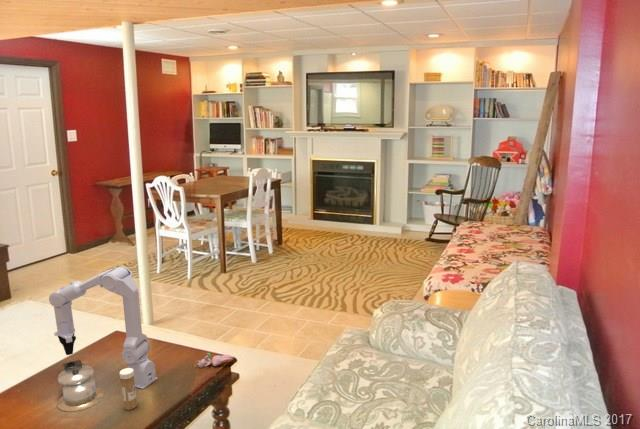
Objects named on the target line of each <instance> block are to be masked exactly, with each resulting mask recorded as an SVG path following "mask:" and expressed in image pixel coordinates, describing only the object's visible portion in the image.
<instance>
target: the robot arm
mask: <svg viewBox="0 0 640 429" xmlns="http://www.w3.org/2000/svg"><path fill="white" fill-rule="evenodd" d="M133 276H134V275H133V271H131V270H130V269H129V268H127V267H126V266H123V265H120V266H117V267H114V268H111V269H107V270H105V271H102V272H100V273H98V274H97V275H95V276H93V277H91V278H89V279H87V280H85V281H79V280H77V281H75V280H73V281H71V282H69V284H68V285H66V286H65V285H63V286H61V287H60V288H59V289H58V290H56V291H54V292H52V293H50V295H49V297H48V301H49V303H50V305H51V307H52V306H53V310H54V317H55V324H56V329H57V330H56V332H54V333H53V335H54V336H55V337H57V338H58V341H59V343H60V344H61V345H62V347H63V350H64V352H65V355H66V356H70V355H73V354H74V345H75V342H76V339H77V337H76V336H77V335H75V332H76V329H75V325H74V318H73V312H72V311H73V310H72V304H73V301H74V300H76V299H79V298H81V297H83V296H84V295H86V293H87V290H90V289H92V288H94V287H97V286H99V288H104V290H105V289H106V291H109V292H111V293H114V294H116V295H117V296H121V297H122V304H123V315H124V327H125V335H126V336H125V337H126V338H125V340H124V342H123V346H122V348H123V349H122V352H121V359H122V360H123V361H124V362H125V363H126V366H127V367H126V368H132V369H133V370H134V382H135V388H138V389H142V390H143V389H145V388H147V387H148V386H150V385H151V384H152V383H154V382H155V381H157V380H158V379H159V378H158V377H157V372H156V365H155V363H154V362H153V361H152V360H150V359H149V358H148V352H149V351H150V348H151V345H150V342H149V340H148V336H147V335H146V334H144V333H143V328H142V319H141V316H142V315H141V308H140V307H141V306H140V305H141V304H140V295H139V294H140V293H139V289H138V288H139V287H138V286H137V284H136V281H135V280H134V277H133Z"/></svg>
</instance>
